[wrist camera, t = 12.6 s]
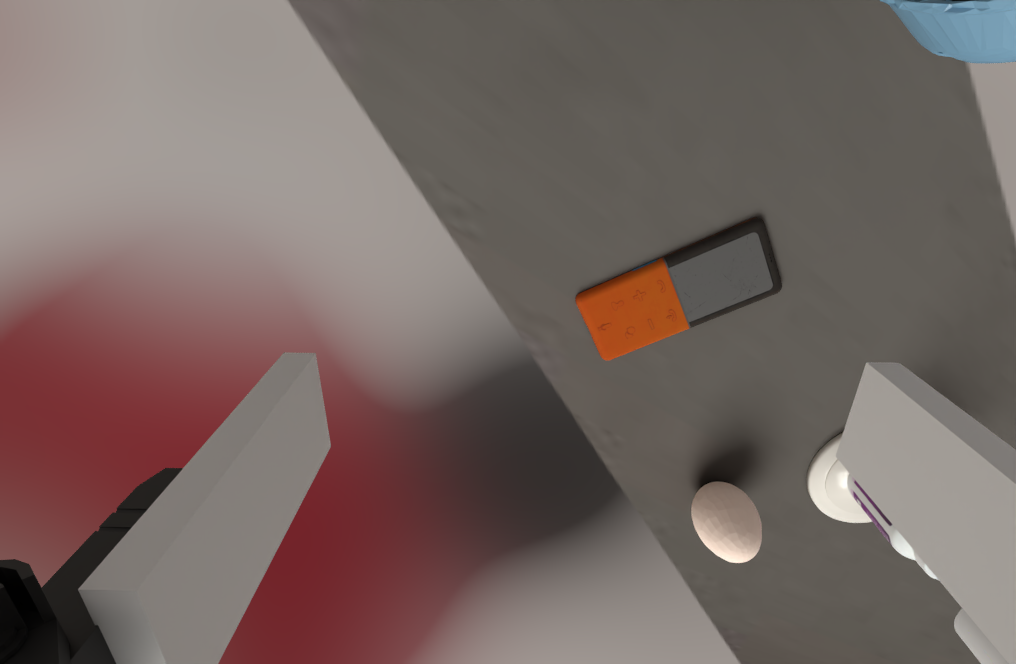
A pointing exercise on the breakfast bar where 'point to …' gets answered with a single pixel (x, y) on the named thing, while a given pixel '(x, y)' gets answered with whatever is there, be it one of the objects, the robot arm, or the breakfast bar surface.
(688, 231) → the breakfast bar surface
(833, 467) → the saucer
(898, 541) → the pill bottle
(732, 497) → the egg
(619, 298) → the phone
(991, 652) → the white upright cylinder
